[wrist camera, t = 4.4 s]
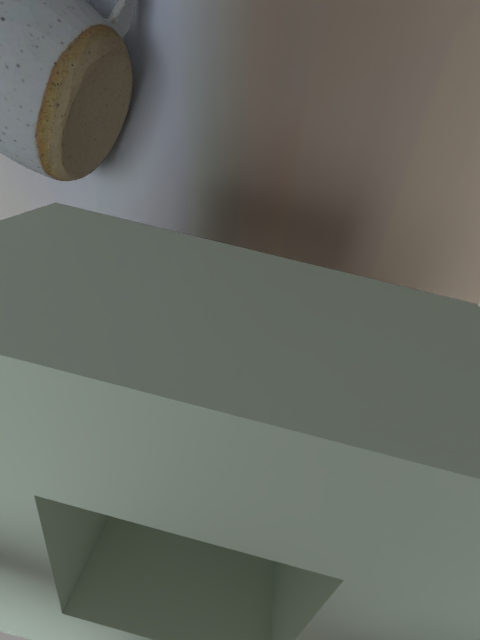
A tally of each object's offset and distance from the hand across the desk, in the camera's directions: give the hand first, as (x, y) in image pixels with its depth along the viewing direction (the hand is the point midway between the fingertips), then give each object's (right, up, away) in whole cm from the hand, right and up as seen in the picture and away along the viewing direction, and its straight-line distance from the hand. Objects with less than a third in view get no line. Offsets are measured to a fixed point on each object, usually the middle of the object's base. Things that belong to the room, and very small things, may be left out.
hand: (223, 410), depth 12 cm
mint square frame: (0, 0, 0) cm, 0 cm away
